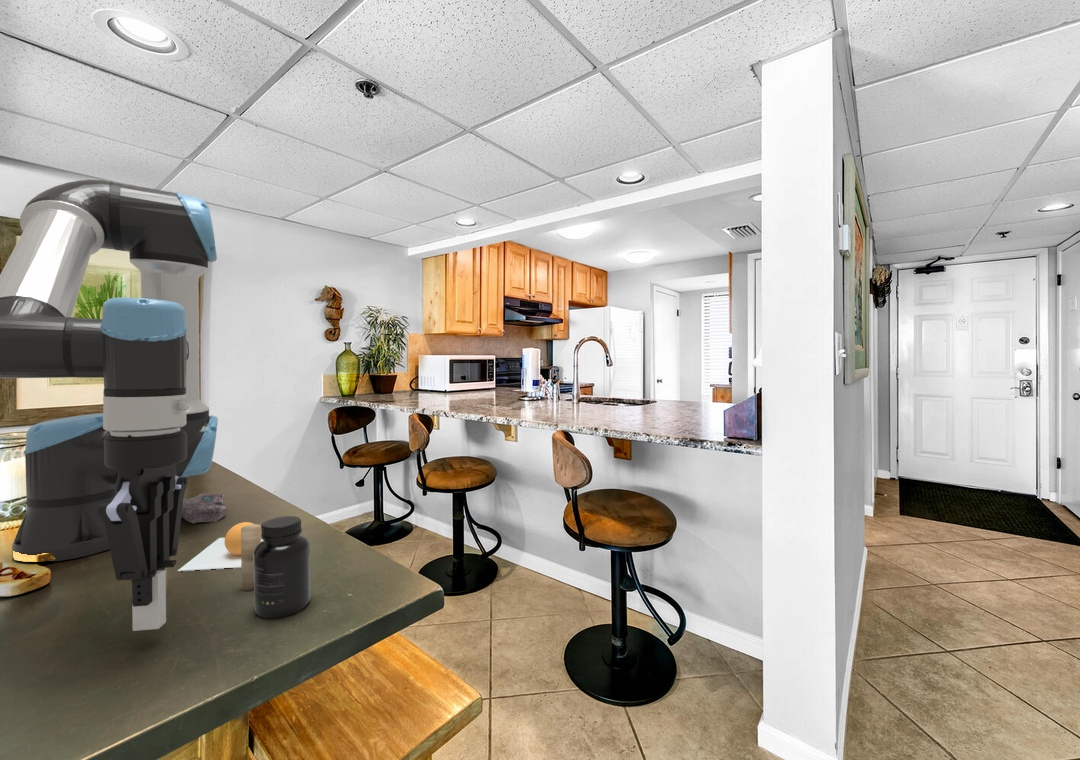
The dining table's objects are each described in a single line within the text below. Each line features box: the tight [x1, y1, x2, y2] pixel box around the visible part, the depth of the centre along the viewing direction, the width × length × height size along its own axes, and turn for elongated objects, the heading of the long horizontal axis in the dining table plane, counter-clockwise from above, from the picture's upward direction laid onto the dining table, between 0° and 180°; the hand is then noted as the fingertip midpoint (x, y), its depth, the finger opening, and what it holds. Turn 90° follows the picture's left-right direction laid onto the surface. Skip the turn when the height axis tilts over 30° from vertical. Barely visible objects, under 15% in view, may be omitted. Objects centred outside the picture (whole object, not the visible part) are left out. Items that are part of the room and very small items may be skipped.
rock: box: [181, 492, 228, 525], centre depth 100 cm, size 8×11×5 cm
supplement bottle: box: [253, 515, 311, 619], centre depth 64 cm, size 7×7×12 cm
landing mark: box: [177, 537, 263, 573], centre depth 83 cm, size 14×14×1 cm
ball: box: [224, 521, 262, 556], centre depth 81 cm, size 6×6×6 cm
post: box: [240, 523, 262, 591], centre depth 70 cm, size 2×2×9 cm
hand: (149, 626), depth 56 cm, fingers closed
